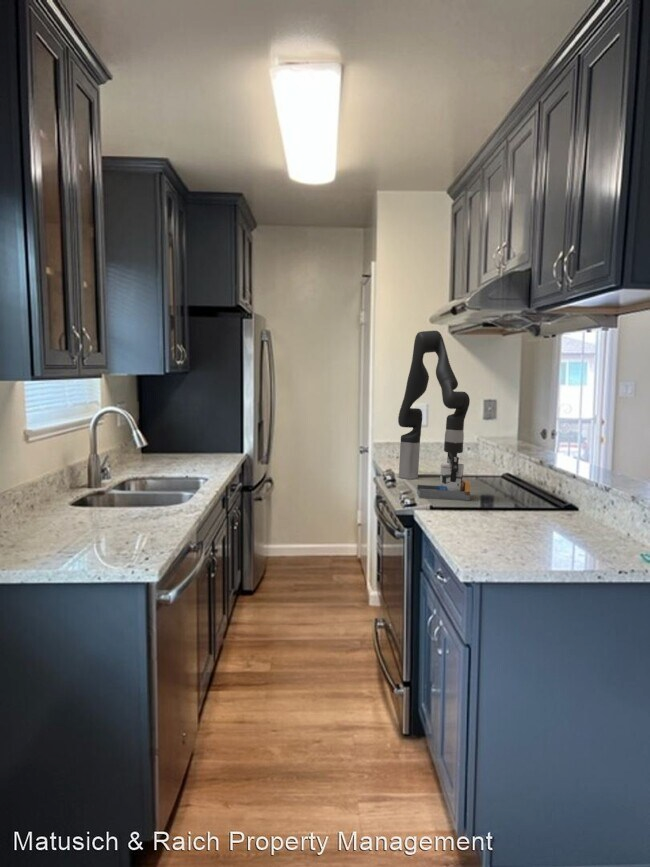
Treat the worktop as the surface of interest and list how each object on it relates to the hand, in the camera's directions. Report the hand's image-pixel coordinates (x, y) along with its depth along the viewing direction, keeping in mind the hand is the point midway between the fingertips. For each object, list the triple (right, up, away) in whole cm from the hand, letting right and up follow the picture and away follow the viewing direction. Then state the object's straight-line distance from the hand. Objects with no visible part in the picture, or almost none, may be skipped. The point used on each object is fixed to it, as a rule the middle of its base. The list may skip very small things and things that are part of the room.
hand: (451, 479), depth 244 cm
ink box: (0, -5, 0) cm, 5 cm away
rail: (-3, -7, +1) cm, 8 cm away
